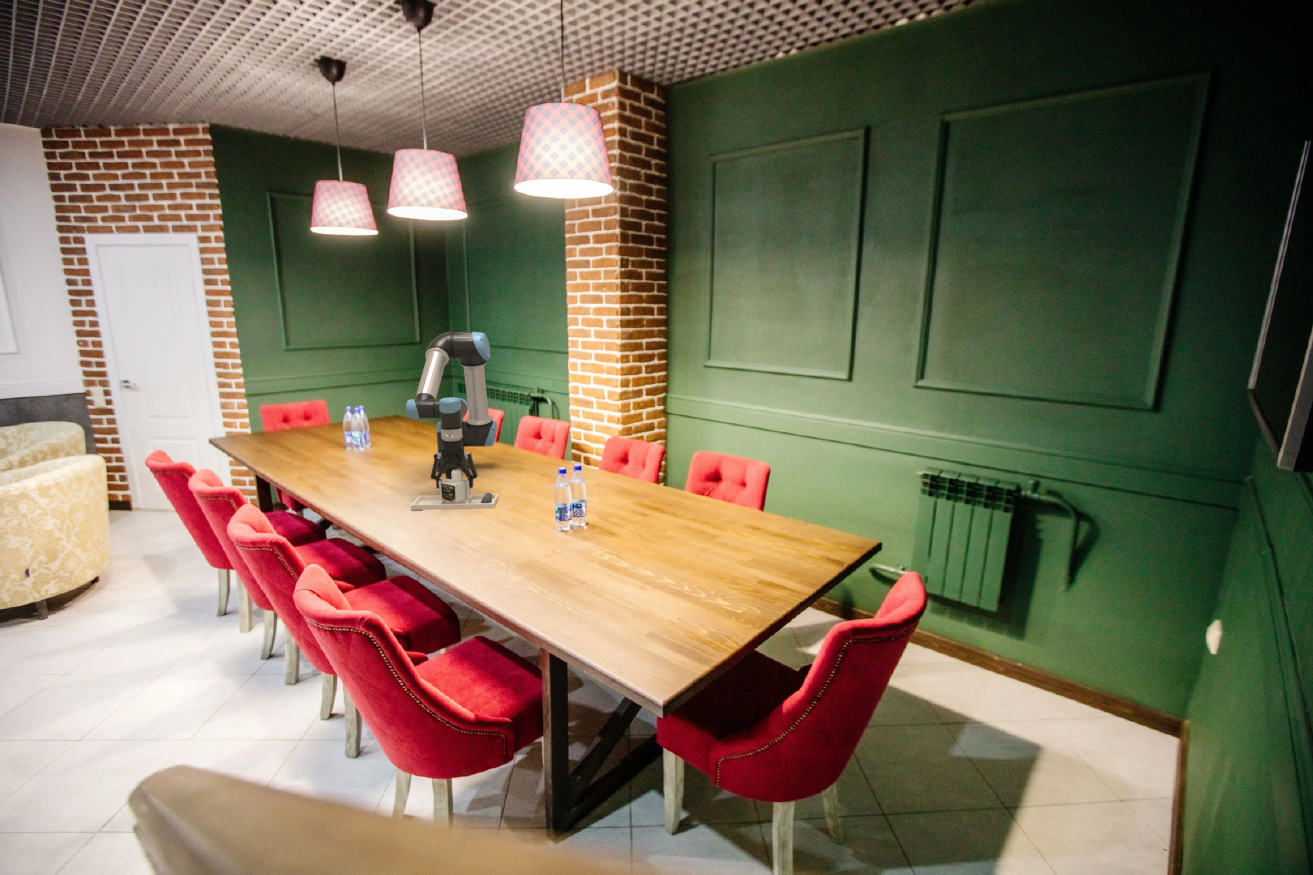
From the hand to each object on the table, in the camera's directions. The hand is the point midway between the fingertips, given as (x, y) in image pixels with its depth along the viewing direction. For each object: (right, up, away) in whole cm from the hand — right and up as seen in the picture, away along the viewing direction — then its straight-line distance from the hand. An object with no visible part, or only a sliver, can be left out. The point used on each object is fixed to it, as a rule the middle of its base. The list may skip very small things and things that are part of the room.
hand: (455, 496), depth 242 cm
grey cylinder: (+10, -2, +1) cm, 10 cm away
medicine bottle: (0, -1, 0) cm, 1 cm away
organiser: (0, -4, +1) cm, 4 cm away
